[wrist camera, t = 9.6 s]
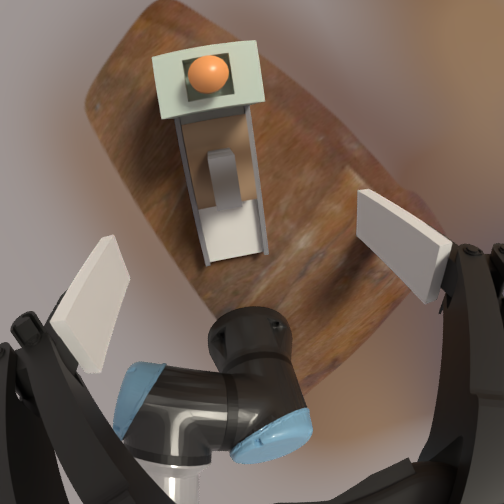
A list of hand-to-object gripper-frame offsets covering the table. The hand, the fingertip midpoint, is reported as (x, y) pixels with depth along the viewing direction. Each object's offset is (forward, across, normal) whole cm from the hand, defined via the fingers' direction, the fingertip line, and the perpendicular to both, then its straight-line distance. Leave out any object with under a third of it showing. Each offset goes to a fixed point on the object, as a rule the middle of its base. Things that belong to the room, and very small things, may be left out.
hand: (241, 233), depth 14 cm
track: (+23, 0, +4) cm, 23 cm away
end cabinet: (+23, 0, -10) cm, 25 cm away
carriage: (+21, 0, -1) cm, 21 cm away
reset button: (+12, 0, -10) cm, 16 cm away
